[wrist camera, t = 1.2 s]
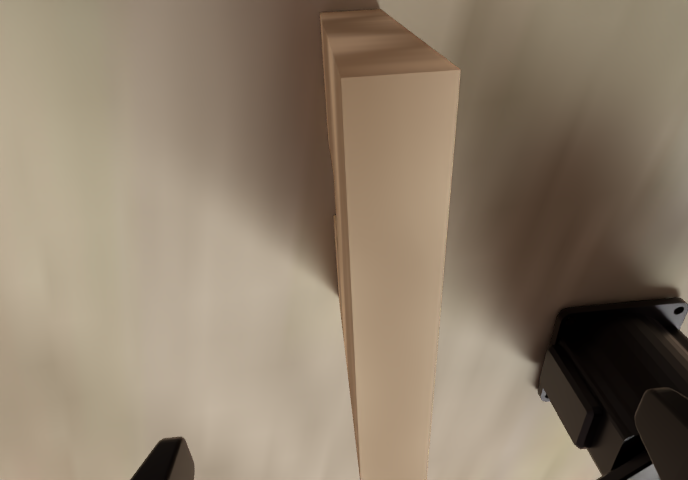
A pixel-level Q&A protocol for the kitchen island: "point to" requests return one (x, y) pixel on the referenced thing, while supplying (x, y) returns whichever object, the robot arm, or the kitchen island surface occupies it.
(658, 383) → the robot arm
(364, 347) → the upright wooden plank
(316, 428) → the kitchen island surface
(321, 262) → the kitchen island surface
